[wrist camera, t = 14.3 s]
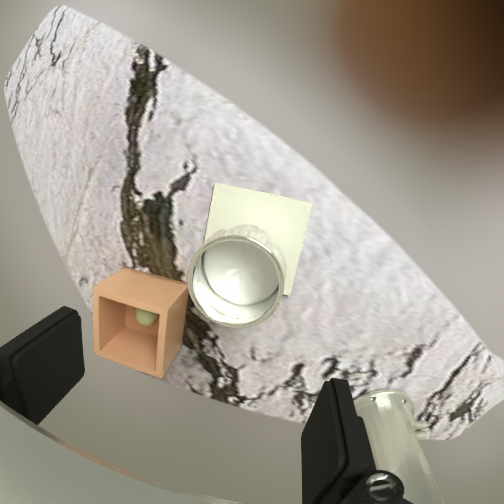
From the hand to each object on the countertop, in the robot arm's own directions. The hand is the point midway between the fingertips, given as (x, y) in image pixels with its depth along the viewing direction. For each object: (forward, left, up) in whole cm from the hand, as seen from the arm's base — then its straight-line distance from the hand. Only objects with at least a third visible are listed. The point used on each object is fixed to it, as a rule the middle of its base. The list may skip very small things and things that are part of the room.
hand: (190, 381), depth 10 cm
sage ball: (+11, +11, -24) cm, 29 cm away
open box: (+11, +11, -26) cm, 30 cm away
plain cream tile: (0, 0, -26) cm, 26 cm away
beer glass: (0, 0, -26) cm, 26 cm away
